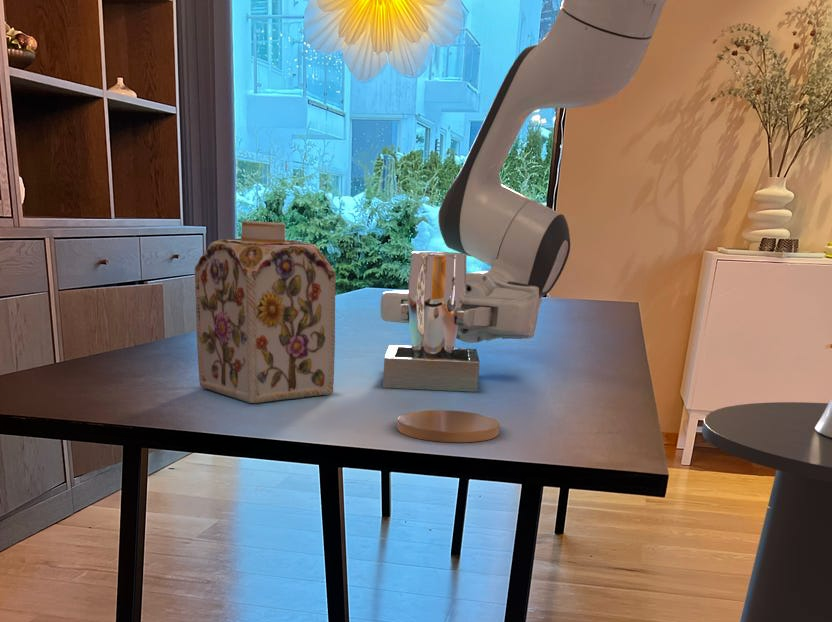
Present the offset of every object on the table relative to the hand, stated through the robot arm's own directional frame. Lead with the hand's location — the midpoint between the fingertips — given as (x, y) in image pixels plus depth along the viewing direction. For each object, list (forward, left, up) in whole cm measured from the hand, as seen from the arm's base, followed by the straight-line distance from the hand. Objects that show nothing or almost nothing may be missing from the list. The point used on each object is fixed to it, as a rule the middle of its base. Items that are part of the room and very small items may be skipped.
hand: (431, 315), depth 109 cm
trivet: (-2, +27, -8) cm, 28 cm away
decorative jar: (+19, +11, -8) cm, 23 cm away
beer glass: (0, -1, -8) cm, 8 cm away
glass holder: (0, -1, -8) cm, 8 cm away
